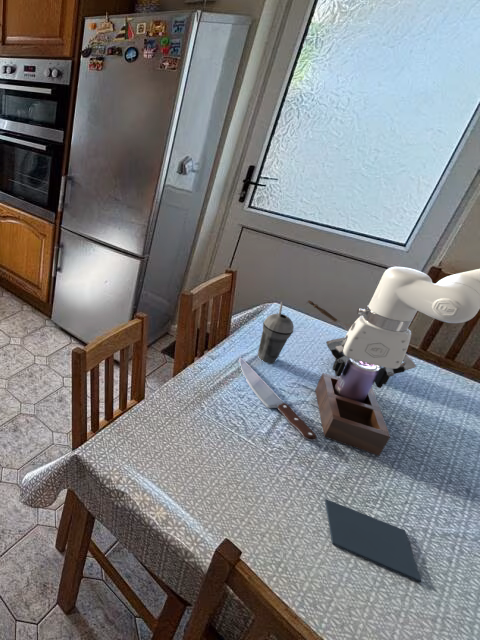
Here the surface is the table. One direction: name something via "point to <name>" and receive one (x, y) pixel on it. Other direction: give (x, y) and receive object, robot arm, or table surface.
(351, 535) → the mat
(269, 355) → the beverage cup
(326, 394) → the box
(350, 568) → the table surface
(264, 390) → the steak knife
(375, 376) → the beverage can
